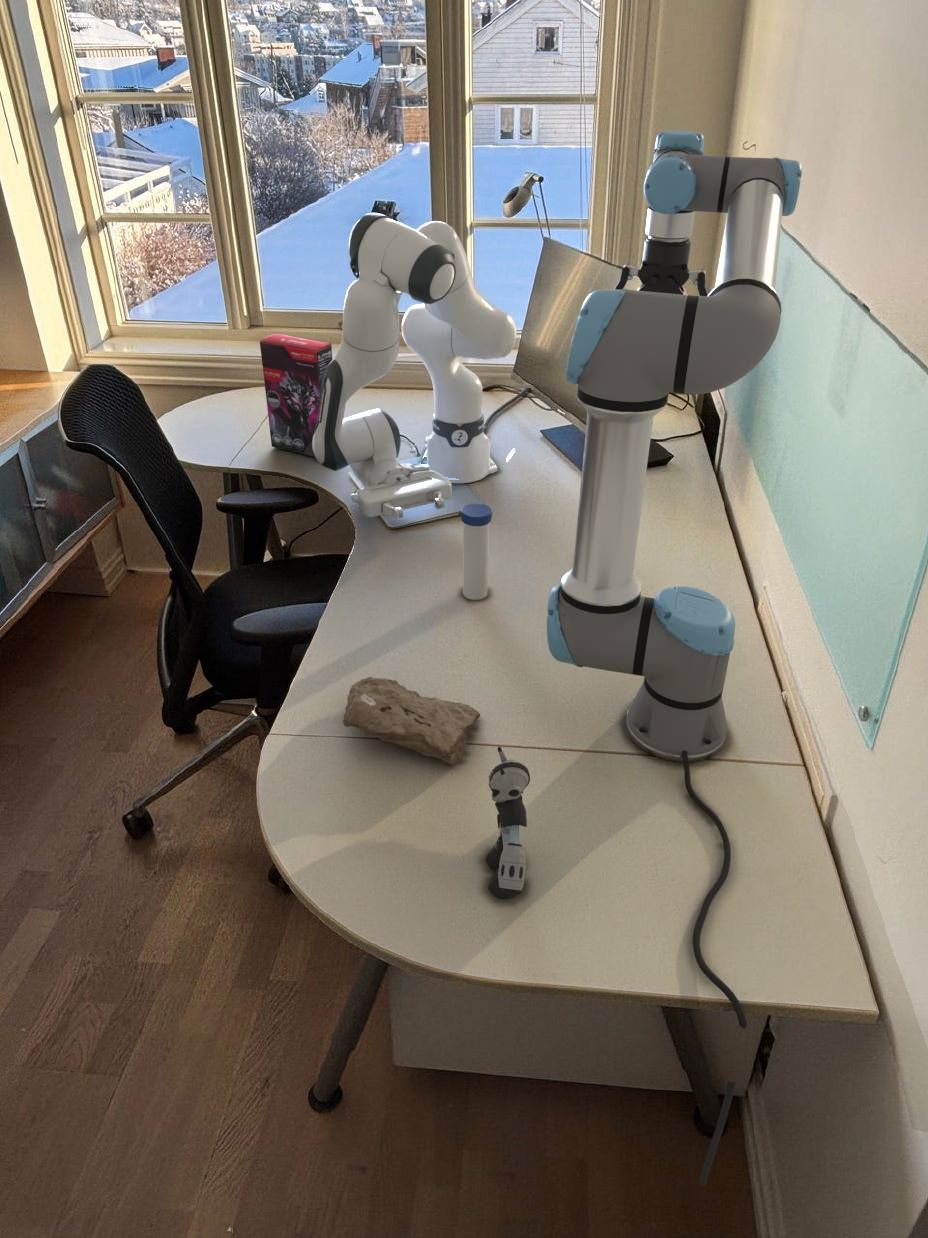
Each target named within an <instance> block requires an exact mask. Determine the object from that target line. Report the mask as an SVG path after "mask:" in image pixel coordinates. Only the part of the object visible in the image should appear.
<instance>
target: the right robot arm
mask: <svg viewBox="0 0 928 1238" xmlns="http://www.w3.org/2000/svg"><path fill="white" fill-rule="evenodd" d="M704 147H705V136H704V135H703V133H701V132H699V131H694V130H684V129H683V130H681V129H680V130H679V129H677V130H676V129H672V130H671V129H670V130H662V131H660V132H659V133H658V134H657V135H656V139H655V144H654V149H653V151H652V153H653V161H652V164H650V166H649V167H648V169H647V171H646V173H645V176H644V183H643V195H644V198H645V201H646V202H647V204H648V208H647V212H646V213H647V214H646V222H645V223H646V224H645V234H646V235H647V237H646V238H645V239H644V243H643V250H642V260H641V265H640V267H636V266H632V265H631V264H630V263H625V264H624V265H623V267H622V269H621V273H620V279H619V281H618V283H617V284H616V285H615V287H614V288H613V289H595V290H593V291H591V292H590V293H589V294H588V295H587V296H586V298H585V299H584V301H583V303H582V305H581V308H580V311H579V313H578V316H577V320H576V323H575V327H574V330H573V335H572V339H571V342H570V346H569V352H568V357H567V362H566V373H565V378H566V381H567V382H568V383H571V384H572V385H574V386H575V385H577V394H576V399H577V401H578V402H579V403H580V404H581V406H582V407H583V408H584V409H585V411H586V412H587V413H586V424H585V435H584V445H583V456H582V467H581V478H580V486H579V487H580V489H579V499H578V509H577V520H576V529H575V530H576V532H575V540H574V551H573V552H574V553H573V563H572V568H571V569H569V570H568V571H567V572H565V573H564V574H563V575H562V577H561V580H560V583H559V584H555V585H554V586H552V588H551V590H550V593H549V597H548V601H547V616H546V639H547V645H548V650H549V652H550V655H551V656H552V658H554V659H555V660H556V661H558V662H560V663H564V664H567V665H568V664H569V665H573V666H576V667H577V668H583V667H584V668H588V669H589V668H591V669H596V670H602V671H607V672H608V671H609V672H614V673H620V674H627V675H633V676H638V677H639V676H640V677H643V682H642V684H641V685H640V688H639V689H638V691H637V692H636V694H635V695H634V697H633V699H632V701H631V702H630V704H629V706H628V708H627V713H626V719H625V728H626V732H627V734H628V736H629V738H630V739H631V741H632V742H634V744H636V745H637V746H638V747H639V748H640V749H641V750H643V751H645V752H646V753H648V754H650V755H651V756H654V757H656V758H659V759H662V760H666V761H670V762H675V763H682V765H683V772H684V785H685V789H686V791H687V793H688V795H689V797H690V799H692V801H693V802H694V803H695V805H697V806H698V807H699V808H700V809H701V811H703V812H704V813H705V814H706V815H707V816H708V817H709V818H710V819H711V820H712V821H713V823H714V824H715V826H716V828H717V829H718V832H719V834H720V836H721V840H722V845H723V864H722V868H721V872H720V874H719V876H718V878H717V879H716V882H715V883H714V884H713V886H712V887H711V889H710V890H709V891H708V893H707V895H706V896H705V898H704V900H703V902H702V906H701V908H700V911H699V914H698V917H697V919H696V922H695V925H694V928H693V932H692V933H693V934H692V935H693V936H692V949H693V954H694V955H693V956H694V958H695V961H696V963H697V965H698V967H699V969H700V971H702V973H703V974H704V975H705V977H706V978H707V979H708V980H709V981H710V982H711V983H712V984H714V985H715V986H716V987H717V988H718V989H719V990H720V991H721V992H722V993H723V994H724V995H725V996H726V998H727V999H728V1000H729V1002H730V1003H731V1006H732V1007H733V1009H734V1010H735V1014H736V1017H737V1021H738V1024H739V1027H740V1028H742V1029H747V1027H748V1024H747V1017H746V1014H745V1012H744V1009H743V1005H742V1004H741V1002H740V1001H739V999H738V997H737V996H736V994H735V993H734V992H733V990H732V989H731V988H730V987H729V986H728V985H727V984H726V983H725V982H724V981H723V980H721V978H720V977H718V976H717V975H716V974H715V973H714V972H713V971H712V969H710V968H709V966H708V965H707V963H706V962H705V960H704V958H703V955H702V949H701V934H702V930H703V927H704V924H705V921H706V918H707V915H708V912H709V909H710V906H711V904H712V902H713V900H714V898H715V897H716V895H717V894H718V893H719V891H720V889H721V888H722V886H723V885H724V884H725V882H726V880H727V877H728V875H729V872H730V868H731V860H732V859H731V856H732V852H731V850H732V849H731V844H730V839H729V836H728V833H727V830H726V828H725V826H724V824H723V822H722V820H721V819H720V818H719V816H718V815H717V813H715V811H713V809H711V808H710V807H709V806H708V805H707V804H706V803H705V802H703V800H701V799H700V797H699V796H698V795H697V793H696V792H695V790H694V789H693V786H692V781H691V780H692V779H691V768H690V763H694V762H700V761H703V760H706V759H709V758H711V757H714V755H716V754H718V752H720V751H721V750H722V748H723V747H724V744H725V743H726V740H727V739H726V738H727V733H728V721H727V716H726V712H725V708H724V707H725V706H724V701H723V692H724V686H725V682H726V678H727V677H726V676H727V671H728V666H729V661H730V657H731V652H732V651H733V650H734V646H735V638H734V637H735V631H736V620H735V616H734V614H733V612H732V610H731V608H730V607H729V606H728V605H727V604H726V603H724V602H723V601H722V600H721V599H720V598H719V597H717V596H716V595H714V594H712V593H710V592H708V591H706V590H704V589H700V588H697V587H696V588H695V587H692V586H688V585H687V586H686V585H675V586H674V587H670V586H669V587H666V588H664V589H662V590H660V591H659V592H658V593H657V595H656V596H655V597H654V598H653V597H649V596H648V597H647V596H642V590H643V589H642V584H641V581H640V580H639V579H638V578H637V577H636V576H635V575H634V569H635V561H636V553H637V546H638V539H639V530H640V523H641V517H642V516H641V515H642V507H643V501H644V500H643V499H644V493H645V492H644V491H645V485H646V476H647V471H648V470H647V469H648V462H649V454H650V446H651V438H652V433H653V432H652V431H653V424H654V417H655V416H656V415H657V414H659V413H660V412H661V411H663V410H664V409H665V408H666V407H667V406H668V401H669V394H670V393H671V394H672V393H673V394H683V395H704V394H710V393H713V392H717V391H720V390H723V389H725V388H727V387H729V386H731V385H734V384H735V383H736V382H738V381H739V380H741V379H742V378H744V377H745V376H747V374H749V373H750V372H751V371H752V370H754V369H755V368H756V367H757V366H758V364H759V363H760V362H762V360H763V359H764V358H765V357H766V355H767V354H768V353H769V351H770V349H771V348H772V346H773V344H774V343H775V340H776V339H777V336H778V332H779V330H780V326H781V325H780V324H781V319H782V301H781V298H780V296H779V294H778V293H777V291H776V281H777V273H778V272H777V271H778V262H779V261H778V260H779V251H780V241H781V231H782V219H783V217H788V216H791V215H792V214H793V213H794V212H795V210H796V207H797V203H798V198H799V194H800V188H801V181H802V174H803V165H802V164H801V163H800V161H798V160H796V159H795V160H794V159H784V158H780V157H777V156H776V157H744V156H743V157H742V156H721V155H705V153H704V149H705V148H704ZM696 212H701V213H702V212H703V213H719V214H720V213H722V214H726V219H725V225H724V232H723V236H722V237H723V238H722V243H721V250H720V255H719V261H718V267H717V272H716V278H715V285H714V288H713V289H712V290H711V291H710V292H709V288H708V286H707V281H706V280H707V279H706V278H707V271H706V270H705V268H700V269H699V270H689V259H690V252H691V245H692V241H691V239H689V238H690V237H691V236H692V235H693V230H694V224H695V223H694V222H695V215H696ZM635 276H637V277H638V279H639V280H640V282H641V285H640V286H639V287H638V288H637V289H635V290H634V289H628V288H625V287H626V286H627V282H628V281H632V280H633V279H634V277H635ZM689 280H691V281H692V284H693V285H695V286H697V290H698V291H697V292H698V295H691V294H688V292H687V290H686V289H685V288H684V285H685V284H686V283H687V282H688V281H689ZM735 1087H736V1083H735V1082H731V1081H727V1084H726V1089H725V1092H724V1098H723V1101H722V1105H721V1108H720V1113H719V1116H718V1120H717V1123H716V1126H715V1129H714V1133H713V1135H712V1138H711V1141H710V1144H709V1148H708V1150H707V1152H706V1153H707V1154H706V1157H705V1160H704V1163H703V1166H702V1169H701V1173H700V1176H699V1180H698V1183H699V1185H700V1186H701V1187H704V1186H706V1184H707V1180H708V1177H709V1174H710V1170H711V1167H712V1164H713V1161H714V1157H715V1155H716V1153H717V1152H716V1151H717V1149H718V1146H719V1142H720V1141H721V1138H722V1135H723V1131H724V1128H725V1126H726V1123H727V1119H728V1115H729V1111H730V1108H731V1104H732V1101H733V1096H734V1091H735Z"/></svg>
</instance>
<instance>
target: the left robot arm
mask: <svg viewBox="0 0 928 1238" xmlns="http://www.w3.org/2000/svg"><path fill="white" fill-rule="evenodd" d="M348 256H349V260H350V261H349V267H350V271H351V273H352V275H353V276H354V277H355V278H356V280H354V281H353V282H352V283H351V284H350V285H349V287H348V289H347V290H346V295H345V299H344V304H343V312H342V324H341V325H342V329H341V331H342V335H341V336H342V337H341V342H340V345H339V347H338V349H337V352H336V354H335V355H334V356H333V357H332V361H331V362H330V363H329V364H328V365H327V367H326V371H325V375H324V380H323V386H322V392H321V399H320V406H319V413H318V419H317V424H316V427H315V430H314V432H313V436H312V447H313V452H314V455H315V457H314V458H315V460H316V461H317V463H318V464H319V465H321V466H322V467H325V468H326V469H328V470H331V471H334V472H337V471H340V470H342V469H344V468H346V467H349V468H350V470H351V472H352V473H353V475H354V476H355V478H356V479H357V480H358V482H360V484H362V485H363V486H364V487H362V488H359V489H358V490H355V491H354V493H351V494H350V499H351V500H352V501H353V502H354V503H356V504H357V506H358V508H359V510H360V512H361V514H362V515H364V516H365V517H367V518H374V517H378V516H383V515H385V516H390V517H393V518H395V519H397V520H399V519H402V518H404V511H406V510H409V509H413V508H417V507H422V506H426V505H430V504H431V505H432V504H434V505H433V506H434V508H435V509H437V510H440V509H445V501H448V500H450V499H451V498H452V495H453V488H452V487H453V486H452V484H468V483H474V482H477V481H480V480H482V479H483V478H485V477H486V476H488V475H490V474H495V473H496V472H498V466H497V465H496V463H495V461H494V460H493V459H492V457H491V440H490V438H489V437H488V434H487V433H488V430H487V428H488V426H489V424H490V423H491V421H492V420H494V417H496V416H497V415H498V414H499V413H500V412H501V411H503V410H504V409H506V408H507V407H508V406H510V405H511V404H513V403H514V402H516V401H517V400H519V399H520V398H522V397H523V396H524V395H525V394H526V393H528V392H529V391H530V389H529V388H527V386H525V388H524V389H523V390H522V391H521V392H519V393H518V394H517V395H515V396H514V397H513V398H511V399H509V400H508V401H506V402H504V404H502V405H501V406H499V407H498V408H497V409H495V410H494V411H493V412H492V413H491V414H490V415H489V416H488V418H486V420H485V416H484V414H483V384H482V381H481V380H480V378H479V377H478V376H477V375H476V374H475V373H474V372H473V371H471V370H470V369H468V368H467V367H466V366H465V365H464V364H463V362H462V361H461V360H460V358H461V359H471V360H481V361H488V360H499V359H505V358H506V357H507V356H508V355H510V353H511V352H513V351H512V350H513V349H514V347H515V344H516V341H517V336H518V334H517V333H518V332H517V331H518V330H517V326H516V325H517V324H516V322H515V321H514V319H513V317H512V315H511V314H510V313H508V312H507V311H504V310H502V309H500V308H499V307H497V306H495V305H494V304H493V303H491V302H490V301H489V300H488V299H486V297H484V295H483V294H482V293H481V292H480V290H479V289H478V288H477V286H476V284H475V282H474V278H473V275H472V271H471V268H470V264H469V260H468V256H467V253H466V250H465V248H464V246H463V243H462V241H461V239H460V237H459V236H458V234H457V232H456V230H455V229H454V227H452V226H451V225H450V224H447V223H446V222H443V221H439V220H437V221H436V220H433V221H428V222H426V223H423V224H422V225H420V226H419V227H418V228H417V229H415V228H412V227H410V226H409V225H406V224H404V223H402V222H399V221H396V220H394V219H393V218H391V216H389V215H386V214H382V213H378V212H369V213H366V214H364V215H363V216H361V218H360V219H358V221H356V222H355V224H354V225H353V227H352V229H351V232H350V234H349V240H348ZM403 294H404V295H407V296H409V297H410V298H411V299H412V300H414V301H416V302H419V303H420V304H419V303H418V304H413V305H411V306H410V307H409V308H408V309H407V311H406V312H405V313H404V316H403V318H402V321H401V323H400V311H399V302H400V299H401V297H402V295H403ZM400 324H401V325H400ZM400 334H401V335H402V339H403V341H404V343H405V345H406V346H407V347H408V349H409V350H410V351H412V352H413V353H415V354H416V355H417V356H418V358H419V359H420V360H421V362H422V363H423V364H424V366H425V368H426V370H427V372H428V374H429V378H430V379H431V382H432V391H433V405H434V406H433V407H434V413H433V414H432V418H431V420H432V421H431V425H432V432H431V434H430V435H429V436H425V438H424V446H425V447H426V450H425V452H424V454H423V457H422V459H423V458H424V457H427V464H421V463H405V462H398V461H397V459H398V457H399V455H400V451H401V447H402V445H401V443H402V441H401V440H402V439H401V433H400V429H399V426H398V424H397V423H396V421H395V419H393V417H392V416H391V415H390V414H389V413H387V412H386V411H385V410H383V409H381V408H378V407H377V408H374V409H370V410H367V411H364V412H360V413H357V414H354V415H352V416H351V415H350V416H348V417H344V416H345V412H346V405H347V403H348V401H349V400H350V399H351V397H352V396H354V395H355V394H356V393H358V391H360V390H362V389H363V388H365V387H366V386H368V385H370V384H371V383H373V382H375V381H377V380H379V379H381V378H382V377H384V376H385V375H386V374H387V373H388V372H389V371H391V369H392V368H393V367H394V366H395V364H396V362H397V358H398V356H399V351H400V336H401V335H400ZM515 452H516V450H515V448H513V449H512V450H511V451H510V453H509V454H508V455H507V457H506V461H505V462H506V463H508V462H509V460H510V459H511V458H512V457H513V455H514V453H515ZM445 477H448V478H456V479H459V480H448V479H447V478H445Z"/></svg>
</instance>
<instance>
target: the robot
mask: <svg viewBox="0 0 928 1238" xmlns="http://www.w3.org/2000/svg"><path fill="white" fill-rule="evenodd" d="M497 752H498V755H499V758H500V762H499V763H498V764H497V765H496V766H494V767H493V769H491V772H490V773H489V775H488V788H489V790H490V791H491V800H492V801H493V802H494V806H495V808H496V810H497V812H498V814H496V820H497V828H498V829H499V836H498V838H497V840H496V842H495V844H494V845H493V846H492V848H491V850H490V851H489V852H488V854H487V855H486V857H485V861H486V863H487V865H488V867H489V868H490V869H491V870H493V871H495V872H493V874H492V876H491V878H490V880H489V883H488V886H487V890H488V891H490V893H491V894H492V895H493V896H494V897H495V898H500V899H509V898H512V897H514V896H516V895H518V894H520V893H522V891H523V888H524V884H525V878H526V877H525V876H526V869H527V856H526V851H525V847H524V846H523V845H522V844H521V840H520V826H521V827H523V828H527V827H528V820H527V810H526V807H525V804H524V803H523V796H522V794H524V791H525V789H526V788H528V786H529V785H530V781H531V775H530V771H529V769H528V767H527V766H526V765H524V764H522V763H521V762H520V761H517V760H515V759H507V756H506V755H505V753H504V751H503V749H502V747H501V746H498V747H497Z"/></svg>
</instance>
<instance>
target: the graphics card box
mask: <svg viewBox="0 0 928 1238" xmlns="http://www.w3.org/2000/svg"><path fill="white" fill-rule="evenodd" d="M259 348H260V356H261V357H260V358H261V364H262V365H261V366H262V373H263V382H264V391H265V398H266V399H265V400H266V409H267V416H268V417H267V418H268V425H269V434H270V444H271V448H272V447H273V448H276V449H280V450H285V451H289V452H293V453H298V454H302V455H306V456H309V457H313V458H316V457H315V455H314V452H313V447H312V436H313V432H314V430H315V427H316V424H317V419H318V413H319V406H320V399H321V392H322V386H323V380H324V375H325V371H326V367H327V365H328V364H329V363H330V362H331V361H332V360H333V350H332V349H333V345H332V343H331V342H324V341H318V340H314V339H313V340H312V339H307V338H302V337H297V336H292V335H286V334H281V333H272V334H269V335H266V336H265V337H264V338H262V339H261V340H259Z"/></svg>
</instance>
